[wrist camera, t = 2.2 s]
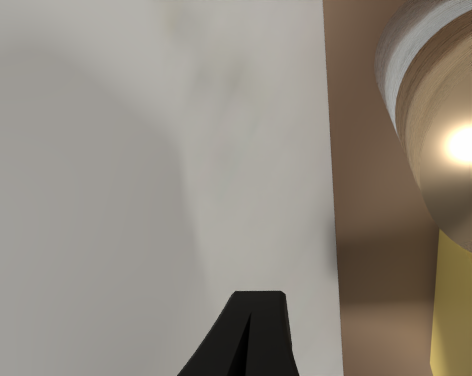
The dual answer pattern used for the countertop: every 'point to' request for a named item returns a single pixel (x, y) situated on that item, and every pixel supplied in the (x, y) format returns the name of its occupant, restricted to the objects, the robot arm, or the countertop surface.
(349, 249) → the board
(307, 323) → the countertop surface
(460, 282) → the block
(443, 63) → the silver and brown cylinder
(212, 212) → the countertop surface
